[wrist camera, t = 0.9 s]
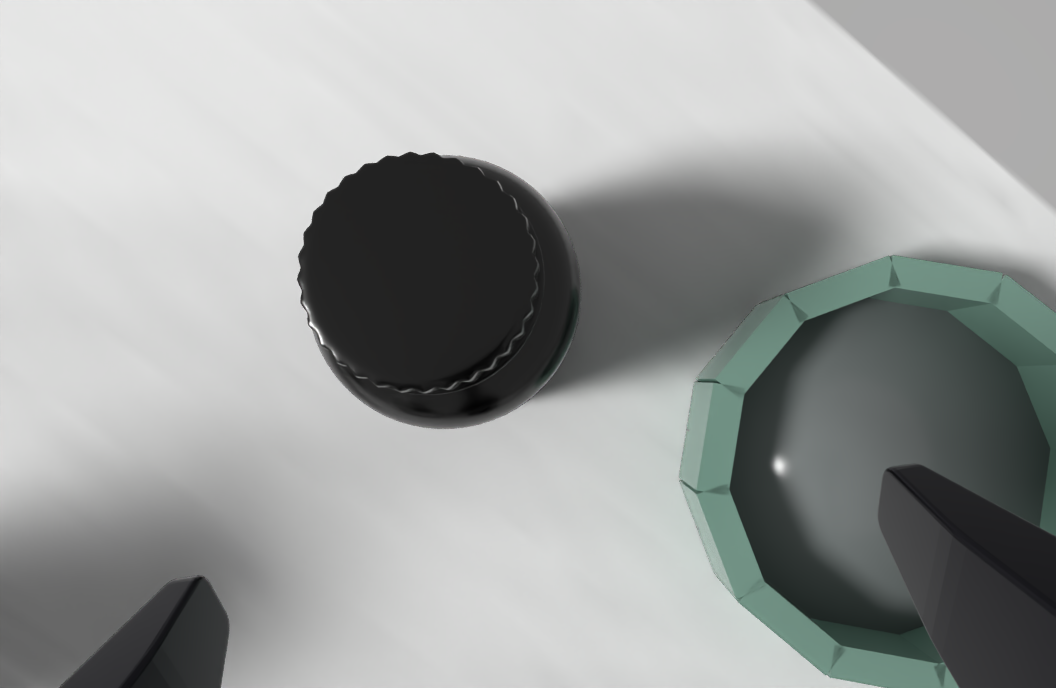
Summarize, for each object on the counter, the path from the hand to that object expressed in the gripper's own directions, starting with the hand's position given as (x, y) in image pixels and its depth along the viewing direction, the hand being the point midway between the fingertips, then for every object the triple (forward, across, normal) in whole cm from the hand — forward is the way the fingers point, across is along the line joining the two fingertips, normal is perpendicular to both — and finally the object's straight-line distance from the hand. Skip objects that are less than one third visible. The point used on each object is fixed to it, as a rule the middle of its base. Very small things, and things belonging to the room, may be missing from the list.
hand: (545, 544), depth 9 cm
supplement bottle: (+16, +2, +5) cm, 17 cm away
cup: (+12, -11, +11) cm, 20 cm away
